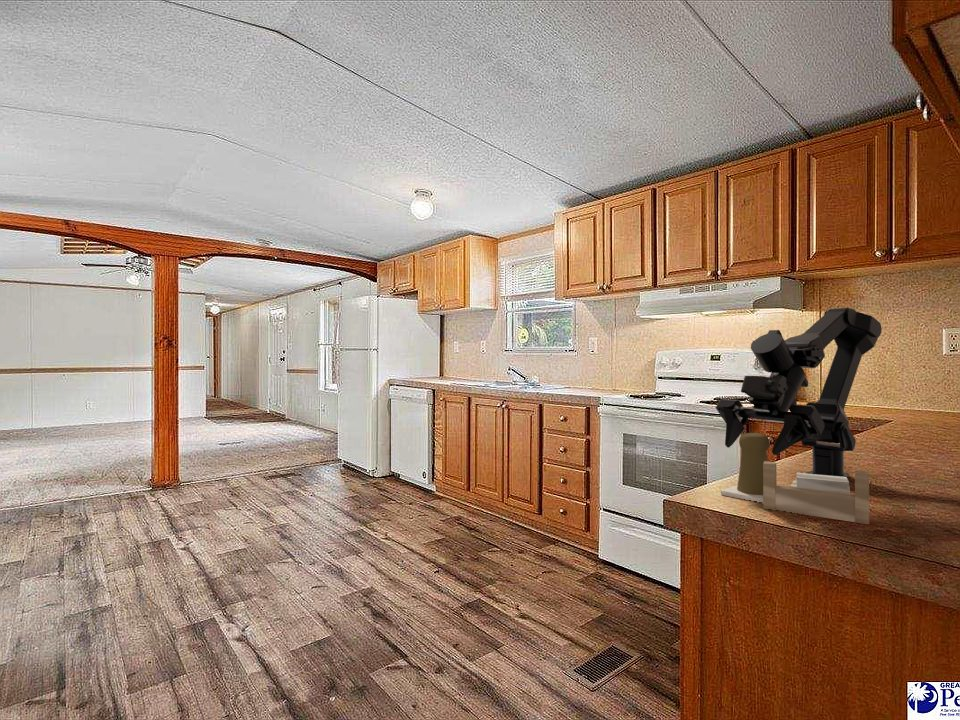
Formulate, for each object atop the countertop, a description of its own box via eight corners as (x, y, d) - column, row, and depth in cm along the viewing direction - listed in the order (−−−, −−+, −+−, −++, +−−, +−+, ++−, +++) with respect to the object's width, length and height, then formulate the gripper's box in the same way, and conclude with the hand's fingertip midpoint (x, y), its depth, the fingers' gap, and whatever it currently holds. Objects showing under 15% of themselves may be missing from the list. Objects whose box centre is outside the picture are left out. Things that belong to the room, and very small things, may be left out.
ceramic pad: (741, 487, 106) (741, 483, 106) (787, 495, 99) (787, 491, 99) (720, 494, 101) (720, 490, 101) (767, 504, 94) (767, 499, 94)
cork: (732, 491, 100) (732, 433, 100) (742, 485, 104) (742, 430, 104) (767, 496, 96) (766, 436, 96) (776, 490, 100) (776, 433, 100)
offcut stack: (793, 490, 103) (793, 471, 103) (849, 497, 97) (849, 477, 97) (790, 496, 98) (790, 476, 98) (848, 504, 93) (848, 483, 93)
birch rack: (765, 506, 93) (764, 461, 93) (869, 521, 84) (868, 471, 84) (763, 508, 91) (763, 463, 91) (869, 524, 82) (869, 473, 82)
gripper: (720, 360, 110) (687, 417, 104) (816, 361, 94) (782, 428, 88) (743, 396, 114) (712, 452, 108) (838, 402, 98) (807, 468, 92)
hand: (749, 449), depth 99 cm, fingers open, 9 cm apart
